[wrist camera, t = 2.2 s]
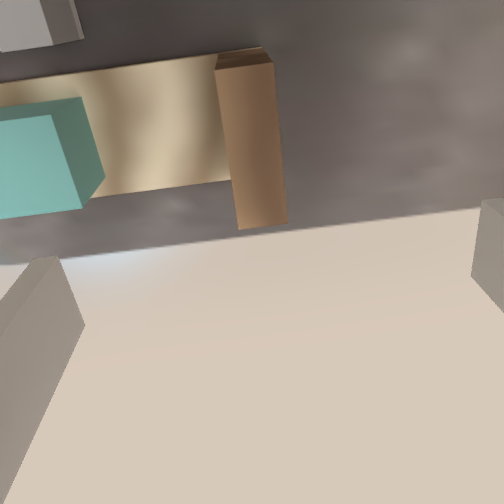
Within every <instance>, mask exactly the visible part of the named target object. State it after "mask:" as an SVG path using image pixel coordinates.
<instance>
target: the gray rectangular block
mask: <svg viewBox="0 0 504 504" xmlns="http://www.w3.org/2000/svg"><path fill="white" fill-rule="evenodd" d="M81 39H85V38H84V35H83V31H82V28H81V24H80V21H79V17H78V14H77V10H76V6H75V3H74V0H0V51H1V52H9V51H16V50H23V49H30V48H37V47H44V46H52V45H57V44H62V43H67V42H71V41H76V40H81Z"/></svg>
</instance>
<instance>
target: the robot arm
mask: <svg viewBox="0 0 504 504" xmlns="http://www.w3.org/2000/svg"><path fill="white" fill-rule="evenodd" d="M471 277H472V278H473V279H474V280H475V281H476V282H477V284H478V285H479V286H480V287H481V288H482V289H483V290H484V291H485V292H486V294H487V295H488V296H489V297H490V298H491V299H492V300H493V301H494V302H495V304H496V305H497V306H498V307H499V308H500V309H501V310H502V311H503V312H504V197H503V198H495V199H487V200H482V203H481V210H480V217H479V224H478V231H477V238H476V245H475V251H474V258H473V265H472V272H471ZM84 327H85V323H84V321H83V318H82V316H81V313H80V311H79V308H78V306H77V303H76V301H75V298H74V295H73V293H72V291H71V288H70V285H69V283H68V281H67V278H66V275H65V273H64V270H63V268H62V265H61V263H60V260H59V258H58V256H51V257H43V258H35V259H33V260H32V261H31V263H30V264H29V265H28V266H27V268H26V269H25V270H24V271H23V273H22V274H21V275H20V277H19V278H18V279H17V280H16V282H15V283H14V284H13V285H12V287H11V288H10V289H9V290H8V292H7V293H6V294H5V295H4V297H3V298H2V299H1V301H0V504H3V503H4V500H5V498H6V496H7V494H8V492H9V489H10V487H11V485H12V483H13V481H14V479H15V477H16V474H17V472H18V470H19V468H20V466H21V464H22V461H23V459H24V457H25V455H26V452H27V450H28V448H29V446H30V444H31V442H32V440H33V437H34V435H35V433H36V431H37V429H38V427H39V424H40V422H41V420H42V418H43V415H44V414H45V411H46V409H47V407H48V405H49V402H50V400H51V398H52V396H53V394H54V392H55V390H56V387H57V385H58V383H59V381H60V379H61V377H62V374H63V372H64V370H65V368H66V366H67V363H68V361H69V359H70V357H71V355H72V352H73V351H74V348H75V346H76V344H77V342H78V340H79V338H80V335H81V333H82V331H83V329H84Z"/></svg>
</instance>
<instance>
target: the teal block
mask: <svg viewBox="0 0 504 504" xmlns="http://www.w3.org/2000/svg"><path fill="white" fill-rule="evenodd" d="M104 179H105V173H104V170H103V167H102V163H101V160H100V157H99V153H98V150H97V147H96V143H95V140H94V137H93V133H92V130H91V127H90V124H89V120H88V117H87V114H86V110H85V107H84V104H83V100H82V97H74V98H66V99H59V100H52V101H44V102H37V103H30V104H22V105H15V106H8V107H1V108H0V219H5V218H13V217H21V216H28V215H36V214H44V213H51V212H59V211H66V210H74V209H82V208H83V207H84V206H85V204H86V203H87V202H88V200H89V199H90V198H91V196H92V195H93V194H94V192H95V191H96V190H97V188H98V187H99V186H100V184H101V183H102V182H103V180H104Z"/></svg>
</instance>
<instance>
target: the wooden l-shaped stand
mask: <svg viewBox="0 0 504 504" xmlns="http://www.w3.org/2000/svg"><path fill="white" fill-rule="evenodd" d="M74 97H82V100H83V104H84V107H85V110H86V114H87V117H88V120H89V124H90V127H91V130H92V133H93V137H94V140H95V143H96V147H97V150H98V153H99V157H100V160H101V163H102V167H103V170H104V173H105V179H104V180H103V182H102V183H101V184H100V186H99V187H98V188H97V190H96V191H95V192H94V194H93V195H92V196H91V198H94V197H101V196H109V195H117V194H124V193H132V192H140V191H147V190H155V189H162V188H170V187H178V186H185V185H193V184H200V183H208V182H216V181H223V180H231V183H232V190H233V196H234V203H235V209H236V216H237V222H238V229H239V230H240V229H248V228H256V227H264V226H272V225H279V224H287V223H288V217H287V206H286V195H285V184H284V173H283V162H282V150H281V139H280V128H279V117H278V106H277V95H276V84H275V73H274V62H273V61H272V60H271V58H270V57H269V56H268V55H267V53H266V52H265V51H264V49H263V48H262V47H256V48H249V49H242V50H234V51H227V52H220V53H213V54H205V55H198V56H191V57H184V58H176V59H169V60H162V61H155V62H147V63H140V64H133V65H126V66H118V67H111V68H104V69H97V70H89V71H82V72H75V73H68V74H60V75H53V76H46V77H39V78H31V79H24V80H17V81H10V82H2V83H0V108H1V107H8V106H15V105H22V104H30V103H37V102H44V101H52V100H59V99H66V98H74Z"/></svg>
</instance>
